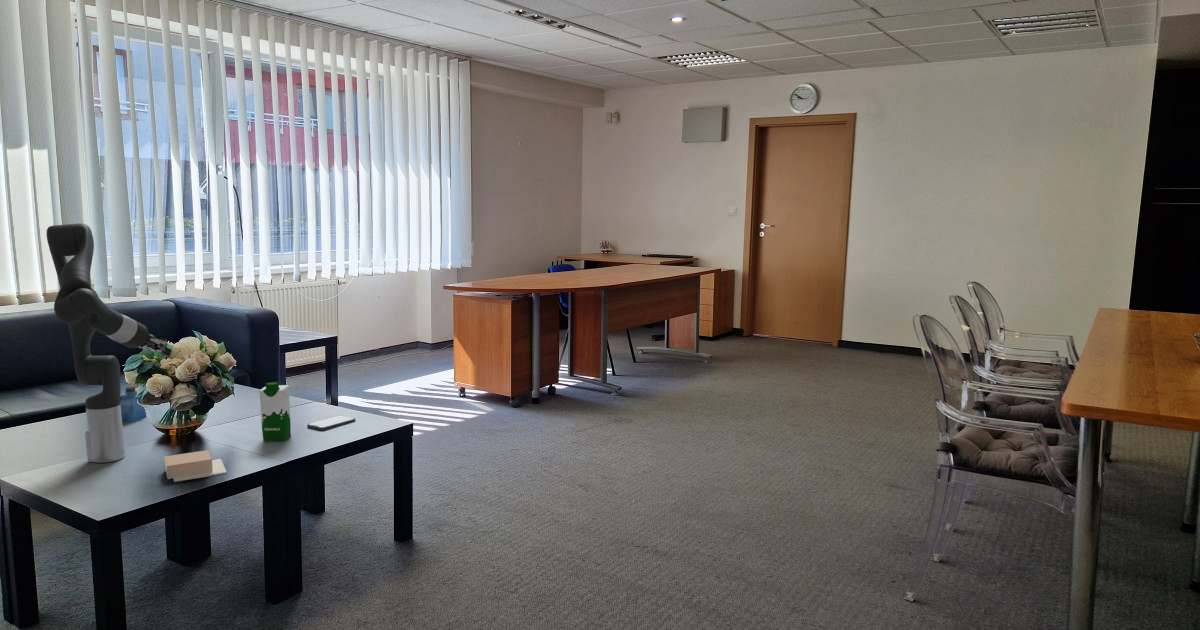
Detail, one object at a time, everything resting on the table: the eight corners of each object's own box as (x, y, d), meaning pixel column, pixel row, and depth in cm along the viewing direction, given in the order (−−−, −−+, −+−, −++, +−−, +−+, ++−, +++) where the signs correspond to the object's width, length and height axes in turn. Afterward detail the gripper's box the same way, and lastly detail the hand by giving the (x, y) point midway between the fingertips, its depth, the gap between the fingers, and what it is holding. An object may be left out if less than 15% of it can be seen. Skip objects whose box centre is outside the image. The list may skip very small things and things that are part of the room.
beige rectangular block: (166, 466, 228) (211, 459, 235) (164, 456, 237) (208, 450, 243) (167, 479, 229) (212, 471, 235) (165, 469, 237) (209, 462, 244)
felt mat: (174, 481, 228) (173, 480, 228) (170, 468, 240) (170, 466, 240) (226, 473, 236) (226, 471, 235) (220, 460, 247) (220, 458, 247)
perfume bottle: (146, 417, 295) (143, 386, 293) (134, 421, 289) (131, 390, 287) (131, 416, 296) (128, 385, 294) (119, 421, 290) (116, 389, 288)
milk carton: (259, 442, 266) (256, 385, 263) (268, 434, 275) (265, 378, 272) (286, 441, 266) (283, 384, 263) (294, 434, 275) (291, 378, 272)
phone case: (340, 419, 297) (305, 428, 283) (340, 415, 297) (305, 424, 283) (357, 422, 292) (322, 432, 279) (357, 418, 292) (322, 428, 278)
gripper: (148, 319, 223) (190, 342, 238) (111, 318, 227) (156, 341, 242) (138, 343, 220) (182, 365, 235) (101, 341, 224) (147, 363, 239)
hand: (169, 353), depth 239 cm, fingers closed
